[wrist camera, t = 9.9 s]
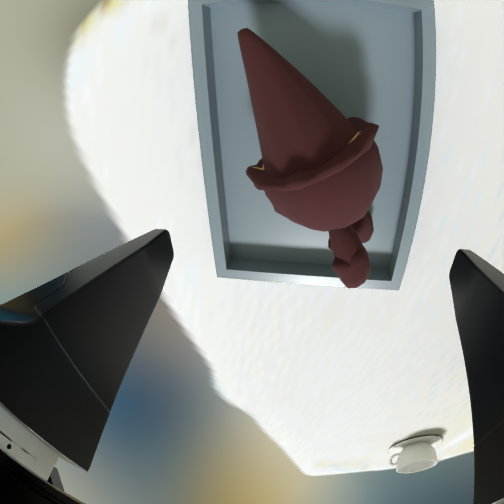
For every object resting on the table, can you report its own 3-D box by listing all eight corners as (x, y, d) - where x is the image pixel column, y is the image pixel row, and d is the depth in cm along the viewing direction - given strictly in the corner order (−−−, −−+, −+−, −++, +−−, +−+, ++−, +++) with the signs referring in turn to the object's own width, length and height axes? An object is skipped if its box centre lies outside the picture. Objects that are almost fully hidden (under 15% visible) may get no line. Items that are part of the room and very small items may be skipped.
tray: (422, 6, 12) (433, 0, 10) (394, 273, 23) (398, 290, 21) (199, 0, 14) (187, -6, 13) (224, 261, 25) (217, 277, 23)
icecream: (144, 83, 12) (296, 308, 19) (288, -11, 7) (417, 298, 14) (215, 52, 16) (321, 235, 23) (323, -3, 12) (416, 217, 19)
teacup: (450, 429, 37) (453, 453, 33) (432, 450, 42) (433, 471, 38) (395, 436, 39) (396, 461, 35) (383, 455, 44) (383, 477, 41)
